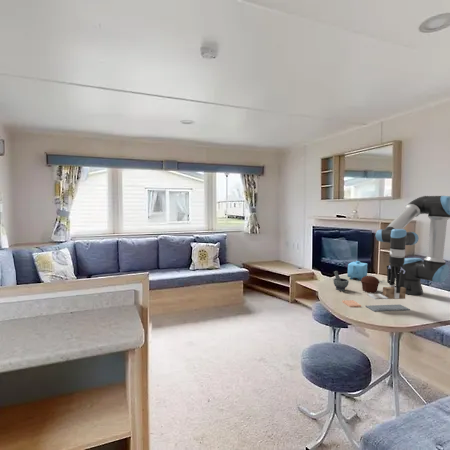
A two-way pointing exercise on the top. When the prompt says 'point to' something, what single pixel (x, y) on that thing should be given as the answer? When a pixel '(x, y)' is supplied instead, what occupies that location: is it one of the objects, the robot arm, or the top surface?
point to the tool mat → (387, 307)
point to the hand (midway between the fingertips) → (394, 297)
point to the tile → (351, 303)
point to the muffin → (370, 284)
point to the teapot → (357, 270)
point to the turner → (389, 293)
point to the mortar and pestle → (340, 282)
